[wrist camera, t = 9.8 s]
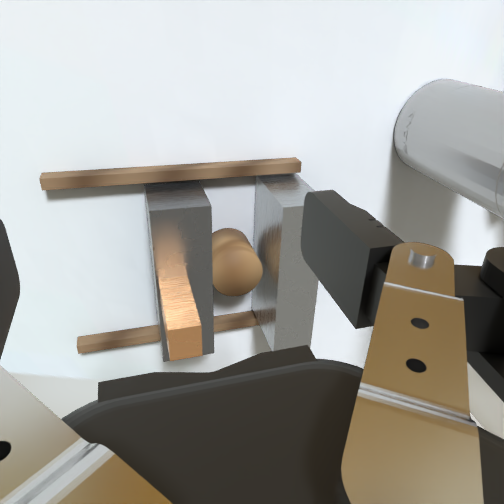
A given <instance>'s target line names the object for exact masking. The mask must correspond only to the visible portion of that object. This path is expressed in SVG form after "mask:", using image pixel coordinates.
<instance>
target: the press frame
mask: <svg viewBox="0 0 504 504" xmlns="http://www.w3.org/2000/svg"><path fill="white" fill-rule="evenodd" d="M299 172H301V162H300V161H299V160H298V159H297V158H280V159H263V160H247V161H230V162H214V163H197V164H181V165H164V166H148V167H131V168H114V169H98V170H81V171H65V172H48V173H42V174H41V176H40V184H41V188H42V190H55V189H69V188H84V187H98V186H112V185H127V184H141V183H155V182H170V181H184V180H198V179H213V178H227V177H241V176H256V175H270V174H284V173H299ZM213 318H214V332H218V331H224V330H230V329H237V328H243V327H249V326H256V325H259V322H258V320H257V318H256V316H255V314H254V312H253V311H247V312H240V313H234V314H227V315H220V316H214V317H213ZM155 341H160V334H159V328H158V325H154V326H147V327H140V328H134V329H127V330H120V331H114V332H107V333H100V334H94V335H87V336H80V337H78V339H77V350H78V354H80V353H86V352H92V351H99V350H105V349H111V348H117V347H124V346H130V345H136V344H143V343H149V342H155Z"/></svg>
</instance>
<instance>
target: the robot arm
mask: <svg viewBox="0 0 504 504" xmlns="http://www.w3.org/2000/svg"><path fill="white" fill-rule="evenodd" d="M394 141H395V148H396V151H397V154H398V155H399V157H400V158H401V160H402V161H403V162H404V163H405V164H407V165H408V166H410V167H412V168H413V169H415V170H417V171H419V172H421V173H422V174H424V175H426V176H428V177H429V178H431V179H433V180H435V181H436V182H438V183H440V184H442V185H444V186H445V187H447V188H449V189H451V190H453V191H454V192H456V193H458V194H460V195H461V196H463V197H465V198H467V199H469V200H470V201H472V202H474V203H476V204H478V205H479V206H481V207H483V208H485V209H487V210H488V211H490V212H492V213H494V214H496V215H497V216H499V217H501V218H503V219H504V92H502V91H498V90H493V89H489V88H485V87H481V86H477V85H473V84H468V83H464V82H460V81H455V80H451V79H440V80H436V81H432V82H430V83H428V84H426V85H424V86H423V87H422V88H420V89H419V90H418V91H416V92H415V93H414V94H413V95H412V96H411V97H410V99H409V100H408V101H407V102H406V104H405V105H404V107H403V108H402V110H401V113H400V115H399V117H398V119H397V123H396V127H395V134H394ZM301 252H302V256H303V258H304V260H305V262H306V263H307V265H308V266H309V267H310V269H311V270H312V271H313V273H314V274H315V275H316V277H317V278H318V279H319V281H320V282H321V283H322V285H323V286H324V287H325V289H326V290H327V291H328V293H329V294H330V295H331V297H332V298H333V299H334V301H335V302H336V303H337V305H338V306H339V307H340V309H341V310H342V311H343V313H344V314H345V315H346V317H347V318H348V319H349V321H350V322H351V323H352V325H353V326H354V327H355V329H358V328H364V327H370V326H374V327H373V332H372V336H371V340H370V345H369V349H368V353H367V357H366V362H365V366H364V369H362V368H360V367H357V366H354V365H351V364H347V363H344V362H339V361H334V360H326V359H316V358H315V357H314V355H313V353H312V351H311V350H310V348H309V346H308V345H303V346H298V347H292V348H287V349H281V350H276V351H270V352H264V353H260V354H257V355H255V356H252V357H250V358H247V359H245V360H243V361H240V362H238V363H235V364H233V365H230V366H228V367H225V368H223V369H220V370H218V371H215V372H209V373H186V372H153V373H148V374H142V375H137V376H131V377H126V378H120V379H115V380H109V381H103V382H99V383H98V400H96V401H93V402H91V403H89V404H87V405H85V406H83V407H81V408H79V409H77V410H75V411H73V412H72V413H70V414H69V415H67V416H65V417H63V418H62V419H60V418H59V417H57V415H55V414H54V413H53V412H52V411H51V410H50V409H49V408H48V407H46V406H45V405H44V404H43V403H42V402H41V401H39V399H38V398H36V397H35V396H34V395H33V394H32V393H31V392H29V391H28V390H27V389H26V388H25V387H24V386H23V385H22V384H21V383H19V382H18V381H17V380H16V379H15V378H14V377H13V376H12V375H11V374H9V373H8V372H7V371H6V370H5V369H4V368H3V367H2V366H0V504H504V439H502V438H500V437H498V436H496V435H494V434H492V433H490V432H488V431H487V430H484V429H482V428H481V427H479V426H477V425H476V423H475V421H473V420H472V419H471V417H470V407H469V389H468V370H467V362H468V363H469V364H470V366H471V367H472V368H473V369H474V370H475V371H476V372H477V373H478V374H479V376H480V377H481V378H482V379H483V380H484V381H485V382H486V383H487V384H488V386H489V387H490V388H491V389H492V390H493V391H494V392H495V393H496V394H497V396H498V397H499V398H500V399H501V400H502V401H503V402H504V247H497V248H493V249H490V250H488V251H487V253H486V256H485V259H484V262H483V265H482V266H468V265H454V260H453V258H452V257H451V256H450V254H448V253H447V252H446V251H444V250H442V249H440V248H438V247H435V246H432V245H429V244H424V243H418V242H407V243H404V242H403V241H402V240H401V239H400V238H398V237H397V236H396V235H395V234H394V233H392V232H391V231H390V230H389V229H387V228H386V227H384V225H383V224H381V223H380V222H379V221H378V220H376V219H375V218H374V217H373V216H372V215H370V214H369V213H368V212H367V211H365V210H363V209H361V208H359V207H356V206H354V205H352V204H349V203H348V202H347V201H346V200H345V199H344V198H342V197H341V196H340V195H339V194H338V193H337V192H335V191H334V190H325V191H313V192H308V193H307V194H306V196H305V199H304V208H303V219H302V230H301ZM19 295H20V282H19V275H18V271H17V268H16V264H15V261H14V257H13V254H12V250H11V247H10V243H9V240H8V236H7V233H6V229H5V226H4V224H3V222H2V220H1V219H0V359H1V355H2V352H3V349H4V345H5V342H6V339H7V335H8V332H9V329H10V326H11V322H12V319H13V316H14V312H15V309H16V306H17V302H18V299H19Z"/></svg>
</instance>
